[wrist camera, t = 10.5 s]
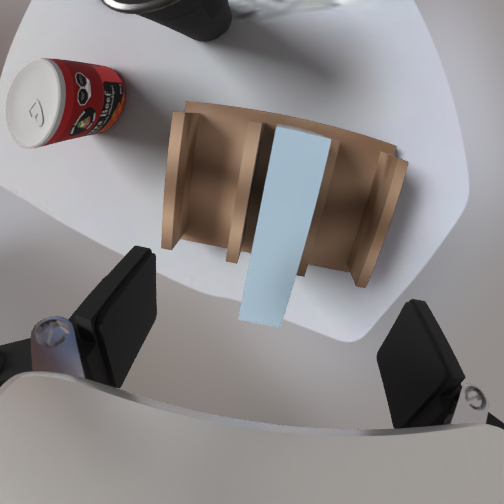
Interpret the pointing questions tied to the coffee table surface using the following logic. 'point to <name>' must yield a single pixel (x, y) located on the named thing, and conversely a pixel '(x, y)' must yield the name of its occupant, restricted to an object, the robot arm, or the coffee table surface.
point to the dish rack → (253, 181)
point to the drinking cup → (181, 15)
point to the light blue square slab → (283, 222)
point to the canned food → (62, 101)
